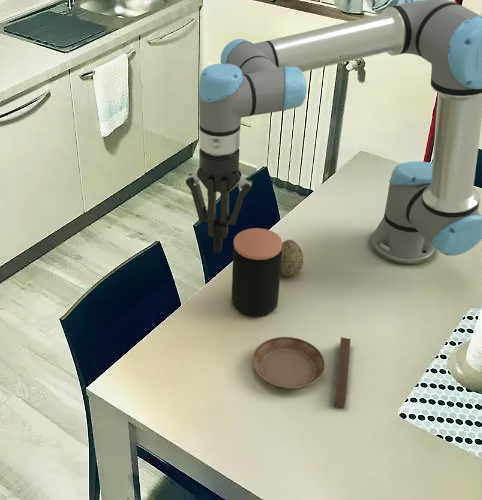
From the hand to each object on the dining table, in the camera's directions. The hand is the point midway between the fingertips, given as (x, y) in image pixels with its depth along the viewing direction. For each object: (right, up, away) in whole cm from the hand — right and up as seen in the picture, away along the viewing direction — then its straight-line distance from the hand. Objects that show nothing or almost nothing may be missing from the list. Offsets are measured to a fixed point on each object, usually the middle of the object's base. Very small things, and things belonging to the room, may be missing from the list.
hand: (217, 248), depth 149 cm
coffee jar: (+11, -13, +19) cm, 26 cm away
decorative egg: (+20, -6, +28) cm, 35 cm away
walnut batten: (+26, -26, 0) cm, 37 cm away
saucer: (+15, -26, +2) cm, 30 cm away
